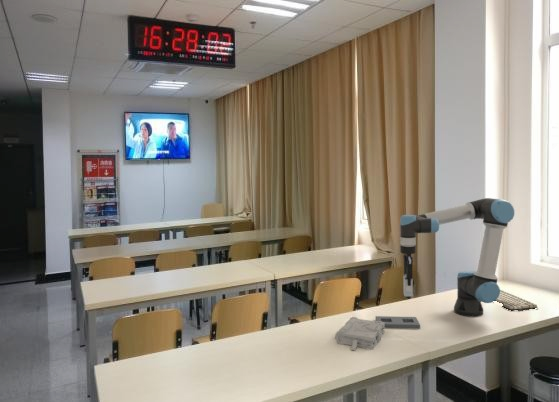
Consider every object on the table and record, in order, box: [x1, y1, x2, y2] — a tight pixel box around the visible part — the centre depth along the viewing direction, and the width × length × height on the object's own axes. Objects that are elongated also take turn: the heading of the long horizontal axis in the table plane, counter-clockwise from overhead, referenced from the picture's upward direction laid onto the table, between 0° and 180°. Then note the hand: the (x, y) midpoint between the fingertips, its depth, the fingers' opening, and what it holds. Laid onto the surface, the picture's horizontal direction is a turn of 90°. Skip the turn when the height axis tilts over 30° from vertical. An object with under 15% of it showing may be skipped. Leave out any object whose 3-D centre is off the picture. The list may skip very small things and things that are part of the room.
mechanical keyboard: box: [495, 289, 538, 312], centre depth 270 cm, size 38×19×3 cm, turn 9°
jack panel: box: [375, 315, 421, 330], centre depth 233 cm, size 21×12×2 cm, turn 83°
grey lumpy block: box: [334, 316, 386, 351], centre depth 214 cm, size 19×28×8 cm
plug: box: [402, 274, 414, 297], centre depth 231 cm, size 4×4×11 cm
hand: (408, 290), depth 231 cm, fingers closed on plug, 4 cm apart
